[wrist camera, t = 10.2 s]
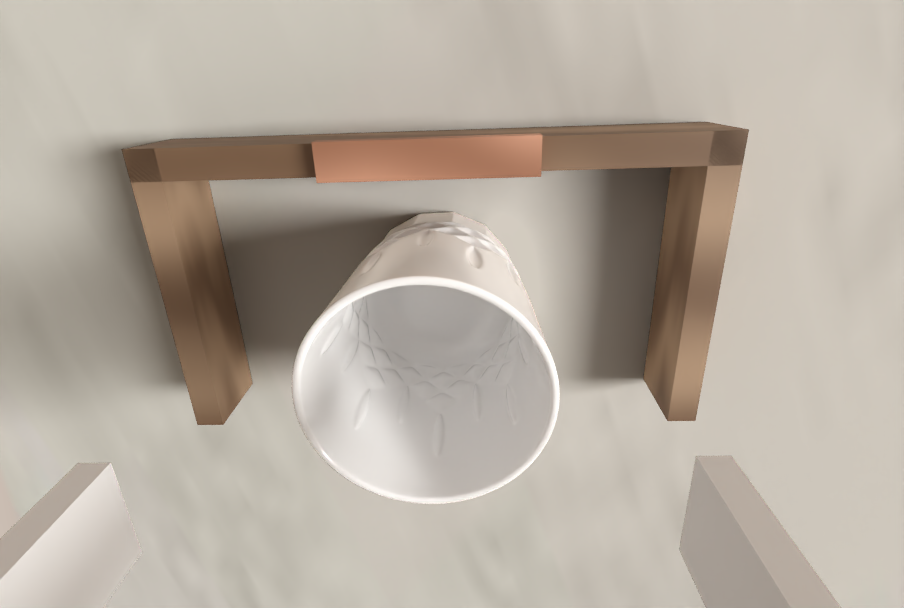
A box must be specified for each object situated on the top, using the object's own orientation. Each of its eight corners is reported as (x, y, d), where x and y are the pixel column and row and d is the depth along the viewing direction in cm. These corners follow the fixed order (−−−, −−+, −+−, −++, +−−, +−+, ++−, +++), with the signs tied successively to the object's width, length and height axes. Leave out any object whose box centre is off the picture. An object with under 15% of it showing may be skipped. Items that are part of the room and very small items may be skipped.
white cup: (323, 274, 25) (236, 391, 15) (447, 159, 22) (430, 216, 13) (437, 382, 27) (420, 541, 18) (560, 287, 24) (614, 414, 15)
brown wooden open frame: (667, 378, 26) (700, 429, 22) (229, 383, 27) (190, 433, 23) (707, 119, 21) (758, 128, 17) (171, 136, 22) (110, 148, 18)
